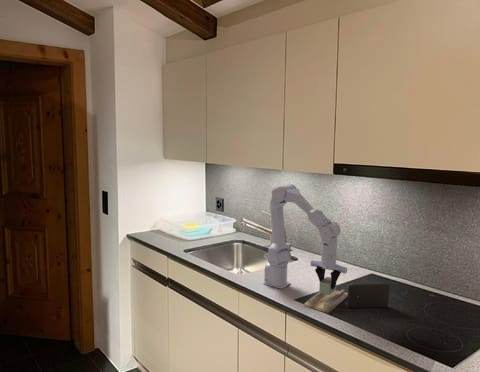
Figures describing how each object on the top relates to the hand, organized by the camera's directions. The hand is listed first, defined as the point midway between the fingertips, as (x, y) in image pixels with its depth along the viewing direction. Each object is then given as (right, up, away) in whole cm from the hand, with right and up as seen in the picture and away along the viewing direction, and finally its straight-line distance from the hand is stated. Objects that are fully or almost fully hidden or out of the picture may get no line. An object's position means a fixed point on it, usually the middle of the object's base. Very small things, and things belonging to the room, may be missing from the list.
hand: (327, 286), depth 158 cm
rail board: (0, -6, +1) cm, 6 cm away
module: (0, -2, 0) cm, 2 cm away
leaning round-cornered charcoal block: (+14, -7, -5) cm, 17 cm away
